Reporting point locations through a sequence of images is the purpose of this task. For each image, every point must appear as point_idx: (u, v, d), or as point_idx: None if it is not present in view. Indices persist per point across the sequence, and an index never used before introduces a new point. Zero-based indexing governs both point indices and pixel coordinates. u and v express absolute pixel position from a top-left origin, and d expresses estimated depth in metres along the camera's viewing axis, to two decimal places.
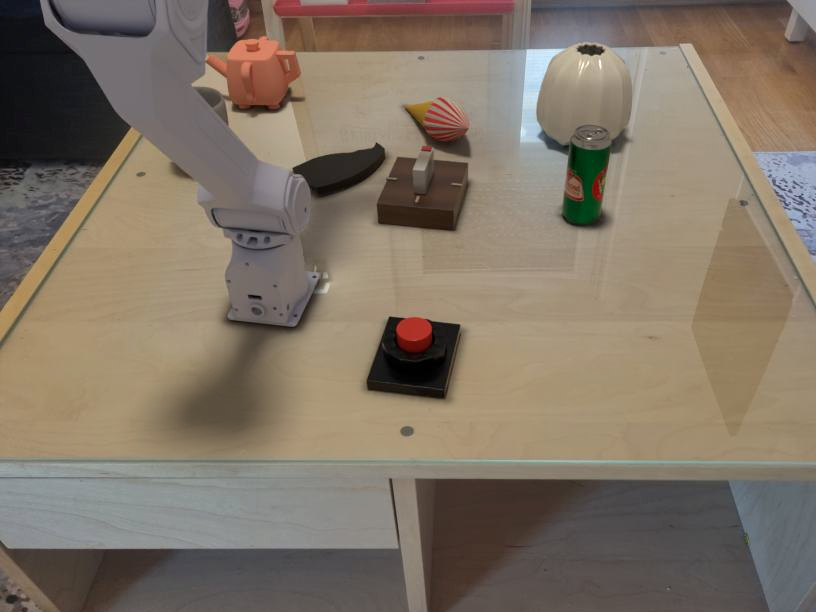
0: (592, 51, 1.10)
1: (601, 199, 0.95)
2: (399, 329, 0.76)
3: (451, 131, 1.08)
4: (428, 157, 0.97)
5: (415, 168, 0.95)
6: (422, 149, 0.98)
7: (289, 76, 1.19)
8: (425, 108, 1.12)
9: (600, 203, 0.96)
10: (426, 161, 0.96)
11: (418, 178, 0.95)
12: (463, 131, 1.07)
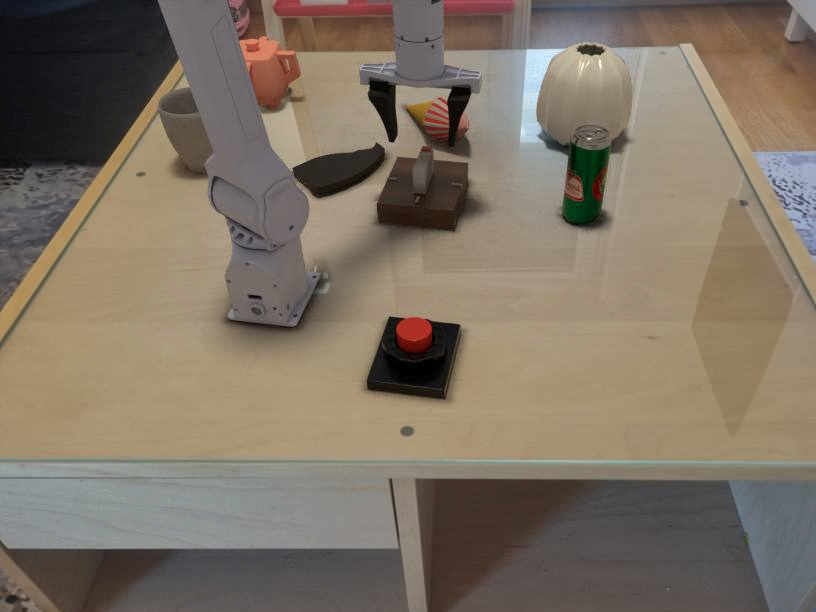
0: (592, 51, 1.10)
1: (601, 199, 0.95)
2: (399, 329, 0.76)
3: None
4: (428, 157, 0.97)
5: (415, 168, 0.95)
6: (422, 149, 0.98)
7: (289, 76, 1.19)
8: (425, 108, 1.12)
9: (600, 203, 0.96)
10: (426, 161, 0.96)
11: (418, 178, 0.95)
12: (463, 131, 1.07)
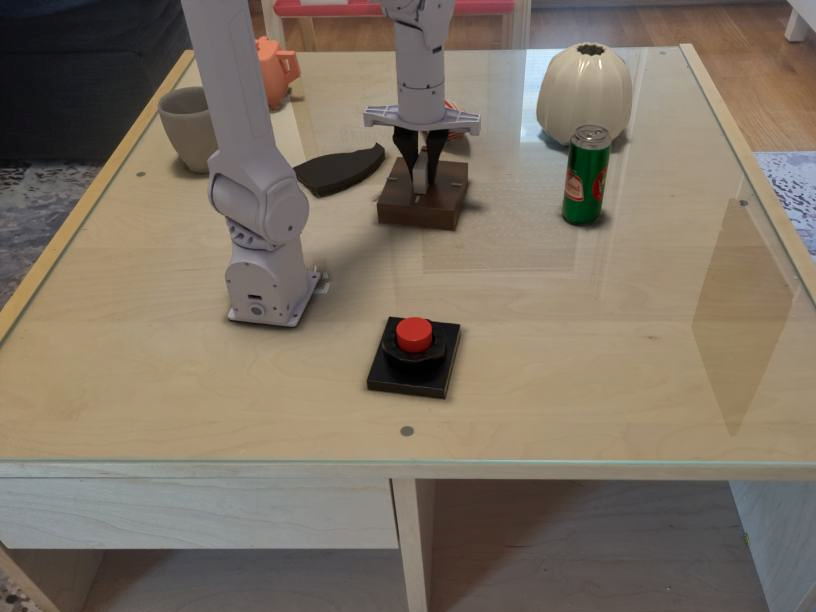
0: (592, 51, 1.10)
1: (601, 199, 0.95)
2: (399, 329, 0.76)
3: (451, 131, 1.08)
4: None
5: (415, 168, 0.95)
6: (422, 149, 0.98)
7: (289, 76, 1.19)
8: None
9: (600, 203, 0.96)
10: (426, 161, 0.96)
11: (418, 178, 0.95)
12: None
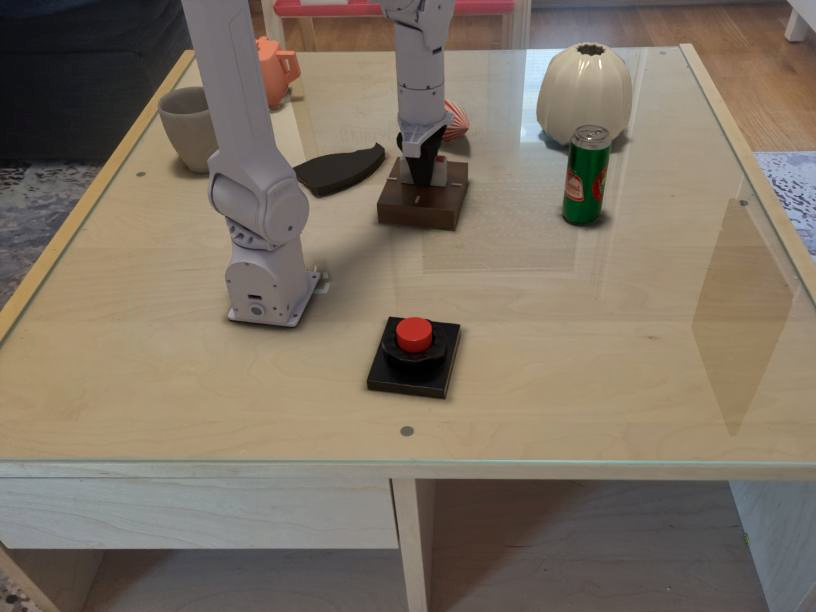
0: (592, 51, 1.10)
1: (601, 199, 0.95)
2: (399, 329, 0.76)
3: (451, 131, 1.08)
4: None
5: None
6: (438, 156, 0.97)
7: (289, 76, 1.19)
8: None
9: (600, 203, 0.96)
10: None
11: None
12: (463, 131, 1.07)
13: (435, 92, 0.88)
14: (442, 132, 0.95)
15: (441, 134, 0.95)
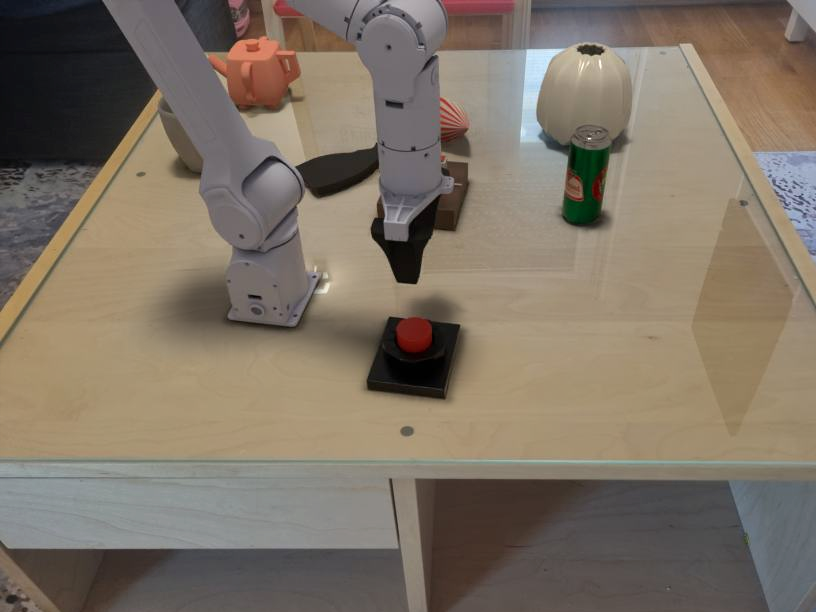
0: (592, 51, 1.10)
1: (601, 199, 0.95)
2: (399, 329, 0.76)
3: (451, 131, 1.08)
4: None
5: None
6: None
7: (289, 76, 1.19)
8: None
9: (600, 203, 0.96)
10: None
11: None
12: (463, 131, 1.07)
13: (428, 153, 0.66)
14: None
15: None
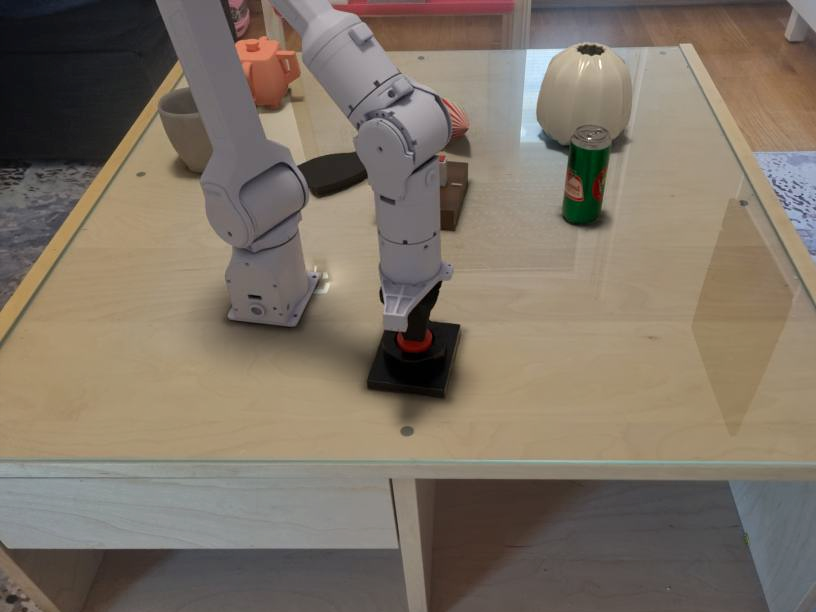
0: (592, 51, 1.10)
1: (601, 199, 0.95)
2: (400, 337, 0.77)
3: None
4: None
5: None
6: None
7: (289, 76, 1.19)
8: None
9: (600, 203, 0.96)
10: None
11: None
12: (463, 131, 1.07)
13: (427, 245, 0.66)
14: (436, 289, 0.72)
15: None
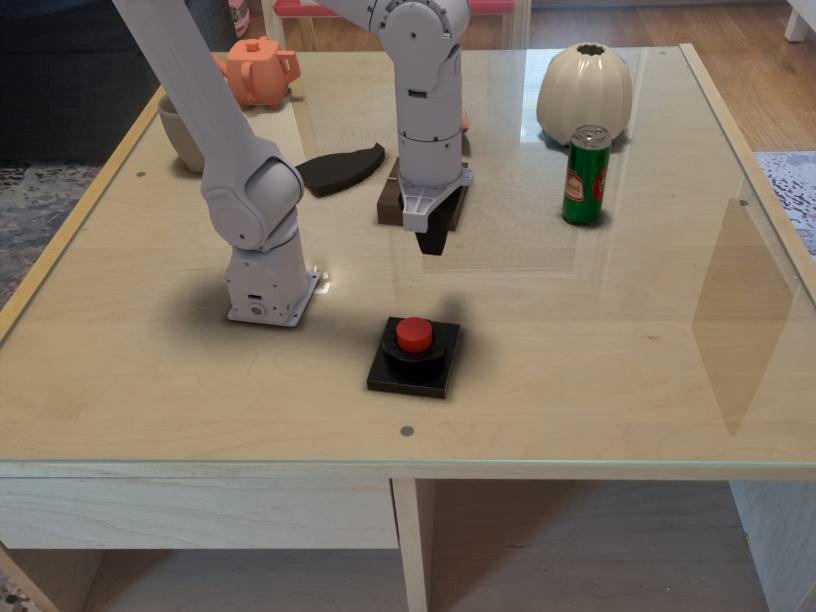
0: (592, 51, 1.10)
1: (601, 199, 0.95)
2: (399, 329, 0.76)
3: None
4: None
5: None
6: None
7: (289, 76, 1.19)
8: None
9: (600, 203, 0.96)
10: None
11: None
12: (463, 131, 1.07)
13: (449, 144, 0.65)
14: None
15: None
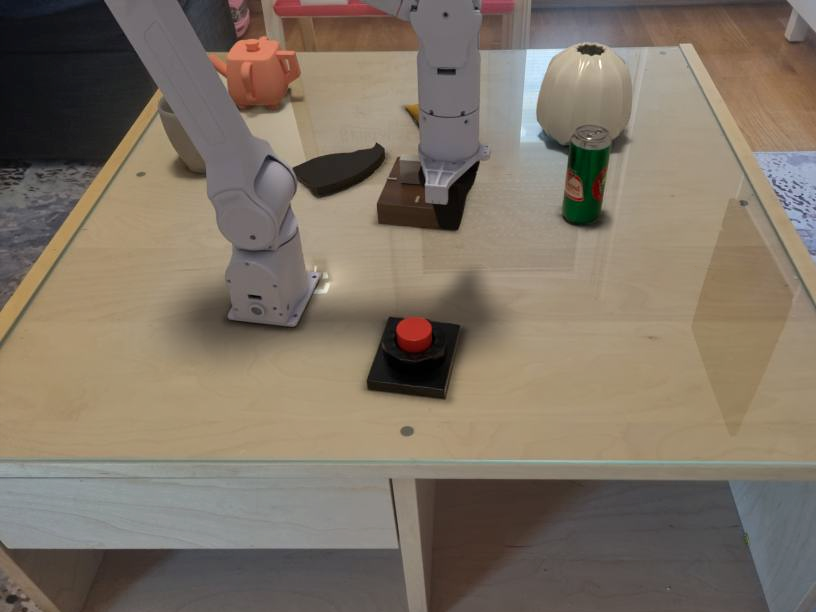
0: (592, 51, 1.10)
1: (601, 199, 0.95)
2: (399, 329, 0.76)
3: None
4: None
5: (403, 154, 0.97)
6: None
7: (289, 76, 1.19)
8: None
9: (600, 203, 0.96)
10: (416, 160, 0.96)
11: None
12: None
13: (468, 120, 0.68)
14: (473, 172, 0.74)
15: None
